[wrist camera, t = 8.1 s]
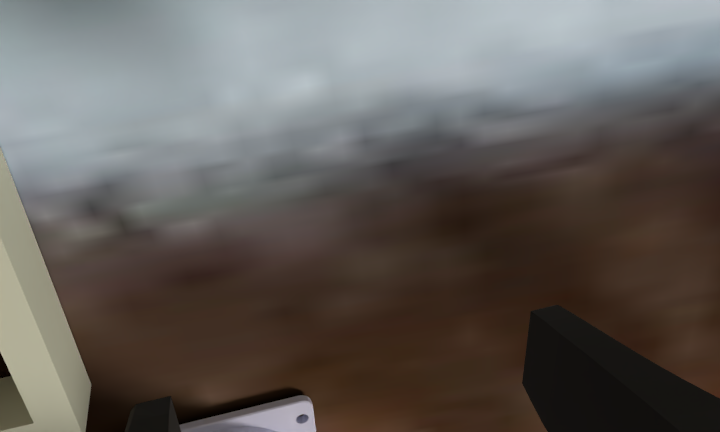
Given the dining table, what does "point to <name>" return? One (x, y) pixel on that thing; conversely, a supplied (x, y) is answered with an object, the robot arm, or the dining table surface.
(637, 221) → the dining table surface
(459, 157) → the dining table surface
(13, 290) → the peg frame
